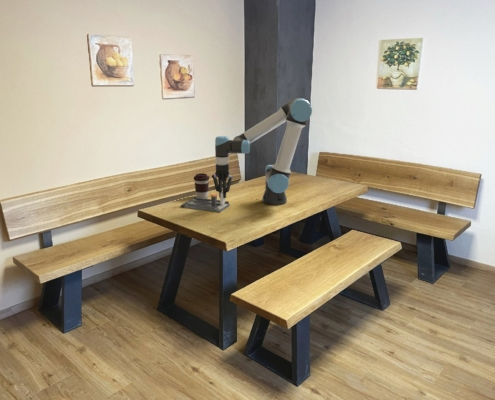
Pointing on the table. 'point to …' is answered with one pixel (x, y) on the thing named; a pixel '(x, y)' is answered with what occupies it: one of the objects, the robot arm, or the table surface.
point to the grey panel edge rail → (186, 203)
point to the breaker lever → (214, 199)
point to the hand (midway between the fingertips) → (222, 203)
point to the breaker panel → (206, 205)
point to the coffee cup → (201, 185)
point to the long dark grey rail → (209, 200)
